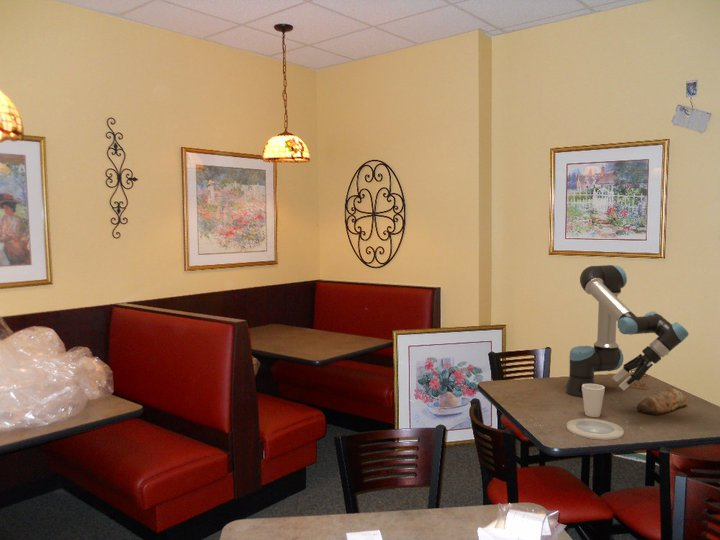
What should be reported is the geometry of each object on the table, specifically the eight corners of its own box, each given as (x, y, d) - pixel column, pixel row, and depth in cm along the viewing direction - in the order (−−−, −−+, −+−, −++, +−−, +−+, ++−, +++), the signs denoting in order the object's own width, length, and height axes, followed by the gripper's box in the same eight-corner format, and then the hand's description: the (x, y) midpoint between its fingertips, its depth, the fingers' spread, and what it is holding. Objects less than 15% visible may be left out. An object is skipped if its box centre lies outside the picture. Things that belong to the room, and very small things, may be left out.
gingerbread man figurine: (648, 388, 300) (649, 365, 299) (646, 390, 297) (647, 367, 296) (630, 385, 306) (631, 363, 305) (628, 387, 303) (628, 364, 302)
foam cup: (603, 412, 263) (603, 384, 262) (604, 419, 254) (605, 390, 253) (580, 410, 266) (581, 382, 265) (581, 416, 258) (582, 388, 256)
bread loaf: (666, 424, 251) (669, 403, 250) (626, 412, 264) (628, 392, 263) (696, 409, 274) (698, 390, 273) (657, 399, 287) (659, 380, 286)
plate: (555, 426, 246) (555, 423, 246) (591, 418, 256) (591, 415, 256) (597, 443, 226) (597, 440, 226) (635, 433, 236) (635, 430, 236)
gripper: (670, 364, 240) (630, 398, 244) (653, 351, 264) (617, 382, 268) (657, 351, 240) (617, 385, 245) (641, 339, 265) (605, 370, 269)
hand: (617, 383), depth 257 cm, fingers open, 13 cm apart
